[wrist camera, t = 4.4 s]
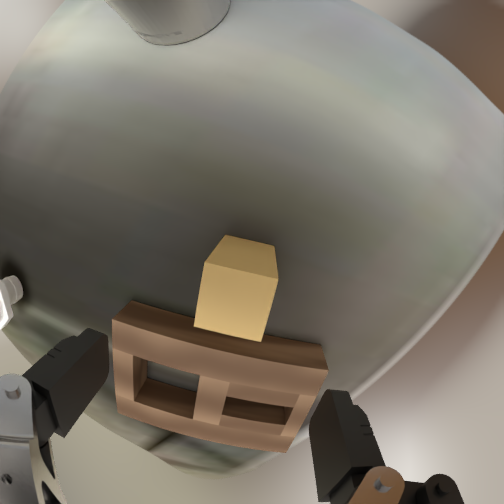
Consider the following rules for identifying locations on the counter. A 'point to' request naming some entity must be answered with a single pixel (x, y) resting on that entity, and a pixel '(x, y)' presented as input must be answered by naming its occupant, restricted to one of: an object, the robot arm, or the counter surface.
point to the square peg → (237, 288)
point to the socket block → (214, 379)
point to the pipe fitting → (9, 297)
